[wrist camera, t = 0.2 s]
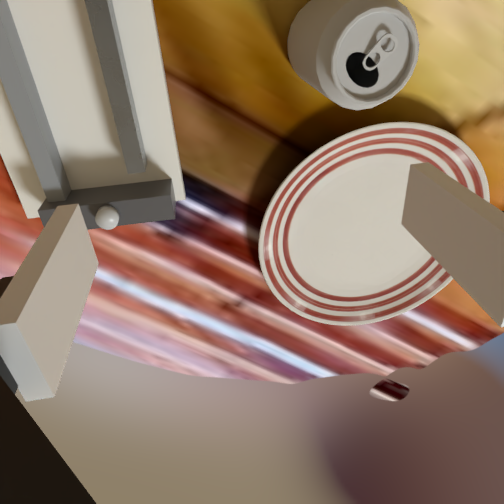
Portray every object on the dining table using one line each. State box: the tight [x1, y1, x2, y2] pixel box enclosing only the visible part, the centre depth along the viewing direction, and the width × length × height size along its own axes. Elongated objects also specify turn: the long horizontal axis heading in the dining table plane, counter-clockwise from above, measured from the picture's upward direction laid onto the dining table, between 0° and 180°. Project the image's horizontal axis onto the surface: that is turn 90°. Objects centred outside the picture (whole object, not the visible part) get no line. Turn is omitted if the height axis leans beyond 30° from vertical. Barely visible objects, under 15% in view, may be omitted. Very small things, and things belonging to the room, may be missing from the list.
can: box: [287, 0, 419, 110], centre depth 32 cm, size 8×8×12 cm
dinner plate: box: [258, 122, 490, 326], centre depth 48 cm, size 27×27×3 cm
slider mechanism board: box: [0, 0, 185, 230], centre depth 32 cm, size 28×16×6 cm, turn 4°
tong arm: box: [84, 0, 147, 174], centre depth 33 cm, size 17×2×2 cm, turn 4°
